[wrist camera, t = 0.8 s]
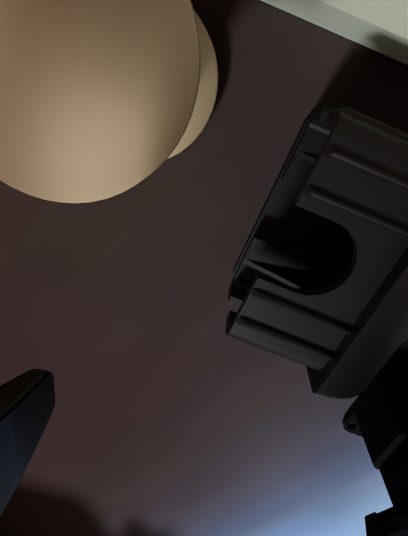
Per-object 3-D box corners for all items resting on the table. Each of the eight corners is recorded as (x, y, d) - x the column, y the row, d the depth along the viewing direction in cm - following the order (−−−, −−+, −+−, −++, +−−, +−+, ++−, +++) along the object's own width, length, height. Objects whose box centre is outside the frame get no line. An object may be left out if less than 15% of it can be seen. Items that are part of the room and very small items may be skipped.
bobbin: (243, 25, 15) (245, -62, 7) (187, 182, 18) (146, 240, 10) (83, -45, 15) (-95, -214, 7) (52, 128, 17) (-97, 146, 10)
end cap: (340, 328, 21) (382, 422, 14) (226, 282, 20) (219, 360, 14) (454, 161, 16) (582, 193, 10) (314, 98, 16) (360, 93, 10)
